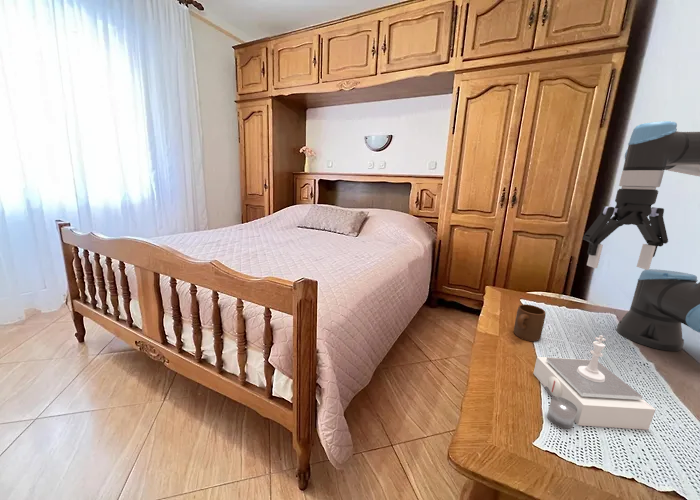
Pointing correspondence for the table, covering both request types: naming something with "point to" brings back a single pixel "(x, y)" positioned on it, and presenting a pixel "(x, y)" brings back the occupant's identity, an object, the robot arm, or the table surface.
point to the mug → (529, 322)
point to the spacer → (562, 412)
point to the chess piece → (594, 363)
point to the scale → (595, 403)
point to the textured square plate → (585, 387)
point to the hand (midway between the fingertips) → (617, 267)
